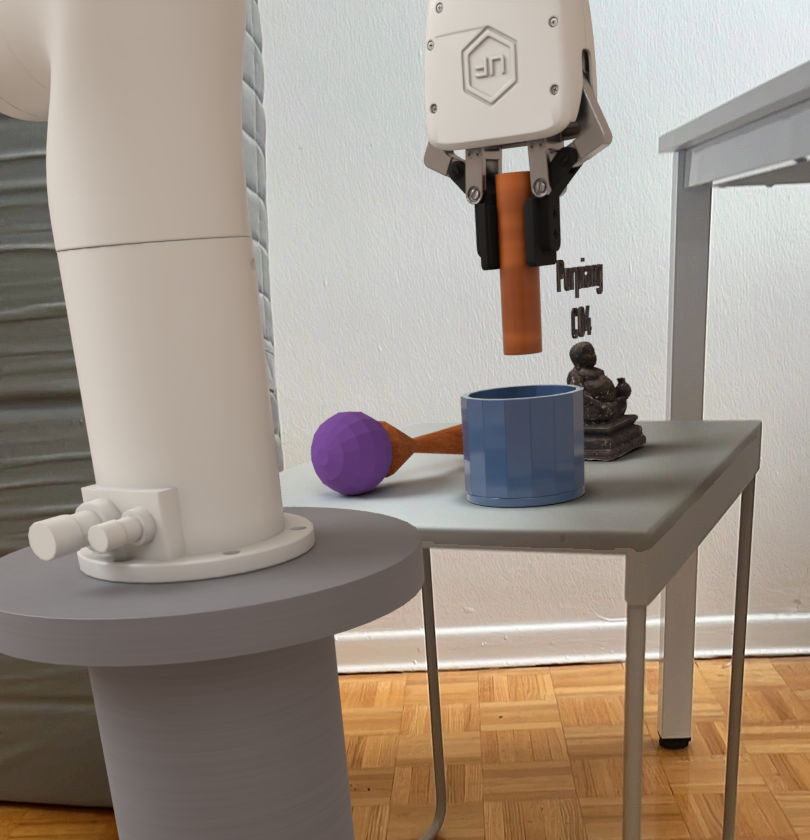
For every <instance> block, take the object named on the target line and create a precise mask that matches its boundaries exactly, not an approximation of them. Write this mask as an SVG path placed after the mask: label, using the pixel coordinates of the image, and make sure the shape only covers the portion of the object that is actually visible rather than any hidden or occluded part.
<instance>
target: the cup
mask: <svg viewBox="0 0 810 840" xmlns="http://www.w3.org/2000/svg"><path fill="white" fill-rule="evenodd" d="M460 412H461V413H460V416H461V424H462V435H463V453H464V455H463V468H464V469H463V470H464V471H463V472H464V486H465V488H464V489H465V492H466V499H467V501H468V502H470V503H471V504H475V505H479V506H484V507H492V508H493V507H495V508H528V507H541V506H548V505H549V506H550V505H555V504H561V503H565V502H569V501H572V500H575V499H579V498H580V497H582V496H583V495H584V494H585V493H586V459H585V440H584V388H583V387H581V386H577V385H567V384H566V383H565V384H564V383H563V384H562V383H546V384H545V383H542V384H541V383H540V384H524V385H523V384H522V385H521V384H520V385H509V386H508V385H507V386H500V387H499V386H498V387H490V388H483V389H478V390H473V391H469V392H466V393H463V394H462V395H461V396H460Z"/></svg>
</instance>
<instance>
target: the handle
mask: <svg viewBox="0 0 810 840" xmlns="http://www.w3.org/2000/svg"><path fill="white" fill-rule="evenodd" d="M495 185H496V207H497V228H498V249H499V269H498V270H499V288H500V308H501V309H500V310H501V311H500V312H501V330H502V351H503V353H502V354H503V355H504V356H527V355H534V354H540V353H543V330H542V329H543V327H542V301H541V299H542V298H541V297H542V296H541V275H540V274H541V273H540V272H541V271H540V266H539V267H530V266H529V265H527V263H526V249H525V223H524V203H525V201H526V199H529V198H531V180H530V170H521V171H510V172H502V173H501V174H496V175H495Z"/></svg>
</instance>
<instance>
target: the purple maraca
mask: <svg viewBox="0 0 810 840" xmlns="http://www.w3.org/2000/svg"><path fill="white" fill-rule="evenodd" d="M310 445H311V446H310V460H311V464H312V466H313V470H314V473H315V474H316V475H317V477H318V479H319V480H320V482H321V483H322V484H323V485H324V486H326V487H328V488H329V489H331V490H332V491H334V492H337V493H339V494H341V495H350V496H356V495H362V494H366V493H368V492H370V491H372V490H374V489H375V488H377V486H379V485H380V484H381V483H382V482H383V480H384V479H386V478H387V479H388V478H389V477H392V476H393V475H395V473H397V472H398V471H399V469H400V468H401V467H402V466H403V465H404V464H405V463H406V462H407V461H408V460H410V458H411V457H412V456H413V455H414V454H432V455H433V454H435V455H457V456H459V455H460V456H461V455H462V456H464V453H463V435H462V423H460V424H456V425H452V426H450V427H445V428H442V429H439V430H436V431H432V432H429V433H426V434H425V433H424V434H422V435H418V436H416V437H411V436H409V435H408V434H406V433H405V432H403V431H402V430H400V429H399V428H397V427H395V426H393V425H392V424H390V423H389V422H387V421H385V420H377V419H375V418H374V417H372V416H370V415H368V414H367V413H364V412H363V411H339V412H337V413H335V414H334V415H332V416H330V417H329V418H327V419H326V420H324V421H323V422H322V423H320V424H319V426H318V428H317V429H316V431H315V432H314V434H313V437H312V442H311V444H310Z"/></svg>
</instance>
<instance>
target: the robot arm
mask: <svg viewBox="0 0 810 840" xmlns="http://www.w3.org/2000/svg"><path fill="white" fill-rule="evenodd" d="M426 9H427V10H426V20H425V37H424V39H425V41H424V108H425V109H424V110H425V111H424V112H425V114H424V115H425V127H426V128H425V129H426V134H427V139H428V142H427V145H426V149H425V152H424V156H423V164H424V166H425V167H426V168H427V169H429V170H432V171H433V172H436V173H438V174H439V175H442V176H444V177H447V178H449V179H450V180H451V181H452V182H453V183H454V184H455V186H457V187H458V188H459V189H460V191H462V192H463V194H464V195H465V198H466V201H467V202H468V203H469V204H470V205H474V223H475V224H474V225H475V241H476V242H475V243H476V245H475V246H476V252H477V255H478V257H480V267H481V270H482V271H483V272H484V271H494V270H499V249H498V228H497V207H496V185H495V175H496V174H501V173H503V150H507V149H514V148H521V147H522V148H523V147H527V155H528V167H529V168H528V169H529V171H530V180H531V198H529V199H526V201H525V203H524V223H525V249H526V263H527V265H529V266H530V267H539V268H540V267H546V266H553V265H556V261H557V260H558V253H557V252H558V251H560V249H561V245H562V235H561V234H562V232H561V228H562V227H561V201H560V200H561V199H560V198H561V197H563V196H564V195H565V194H566V192H567V190H568V185H569V184H570V182H571V181H572V180H573V178H574V176H575V175H576V174H577V173H578V171H580V169H581V168H582V166H584V163H586V162H587V161H589V160H591V159H592V158H594V157H595V156H597V155H598V154H599V153H601V152H602V151H603V150H605V149H607V148H608V147H609V146H610V145H611V144H612V141H613V137H614V136H613V133H612V130H611V128H610V126H609V124H608V121H607V119H606V117H605V115H604V113H603V110H602V108H601V106H600V103H599V102H598V80H597V79H598V78H597V77H598V76H597V63H596V62H597V61H596V60H597V59H596V48H595V38H594V37H595V35H594V30H593V21H592V14H591V8H590V0H428V1H427V8H426ZM246 34H247V0H0V114H3V115H5V116H7V117H10V118H13V119H17V120H22V121H27V122H39V123H40V122H41V123H42V122H47V129H46V130H47V131H46V148H45V149H46V150H45V152H46V153H45V171H46V191H47V202H48V211H49V218H50V224H51V231H52V236H53V243H54V247H55V248H54V249H55V253H56V255H57V261H58V267H59V273H60V279H61V285H62V290H63V296H64V302H65V308H66V314H67V320H68V325H69V326H68V327H69V333H70V337H71V344H72V350H73V354H74V362H75V367H76V373H77V379H78V384H79V392H80V397H81V404H82V408H83V415H84V420H85V427H86V432H87V438H88V444H89V451H90V454H91V461H92V468H93V474H94V480H95V483H93V484H90V485H87V486H82V487H80V491H81V497H82V502H81V503H80V505H78V506H77V507H76V509H75V511H74V513H72V514H68V513H67V514H59V515H56V516H53V517H49V518H45V519H42V520H38V521H34V522H33V523H32V524H31V525H30V526H29V528H28V534H27V536H28V537H27V538H28V543H29V546H31V548H32V550H33V552H34V554H35V555H37V556H38V557H39V558H40V559H41V560H45V561H50V560H54V559H57V558H60V557H63V556H66V555H69V554H73V553H75V552H77V556H78V560H79V565H80V570H81V571H82V572H83V573H85V574H86V575H87V576H89V577H92V578H95V579H98V580H103V581H109V582H116V583H128V584H164V583H181V582H192V581H202V580H209V579H217V578H224V577H229V576H235V575H241V574H246V573H250V572H254V571H259V570H263V569H267V568H270V567H273V566H277V565H280V564H283V563H286V562H288V561H291V560H293V559H296V558H298V557H300V556H301V555H303V554H305V553H307V552H308V551H309V550H310V549H311V548H312V547H313V546H314V543H315V534H314V527H313V523H312V522H310V521H309V520H308V519H307V518H304V517H302V516H299V515H295V514H290V513H283V507H284V505H283V496H282V488H281V479H280V469H279V462H278V461H279V459H278V452H277V442H276V435H275V434H276V433H275V427H274V426H275V425H274V416H273V408H272V399H271V389H270V381H269V380H270V379H269V373H268V372H269V371H268V364H267V354H266V346H265V337H264V335H265V334H264V328H263V317H262V311H261V301H260V292H259V284H258V283H259V282H258V273H257V265H256V264H257V263H256V256H255V247H254V238H253V234H252V227H251V225H252V224H251V217H250V208H249V207H250V206H249V199H248V189H247V178H246V167H245V151H244V150H245V149H244V134H243V85H244V84H243V83H244V66H245V51H246V50H245V48H246ZM571 140H572V141H571ZM566 141H571V142H569V144H567V145H566V146H565V142H566ZM461 150H464V152H465V156H464V158H465V159H464V158H462V157H460V156H458V155H457V154H456V153H455V151H461Z"/></svg>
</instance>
